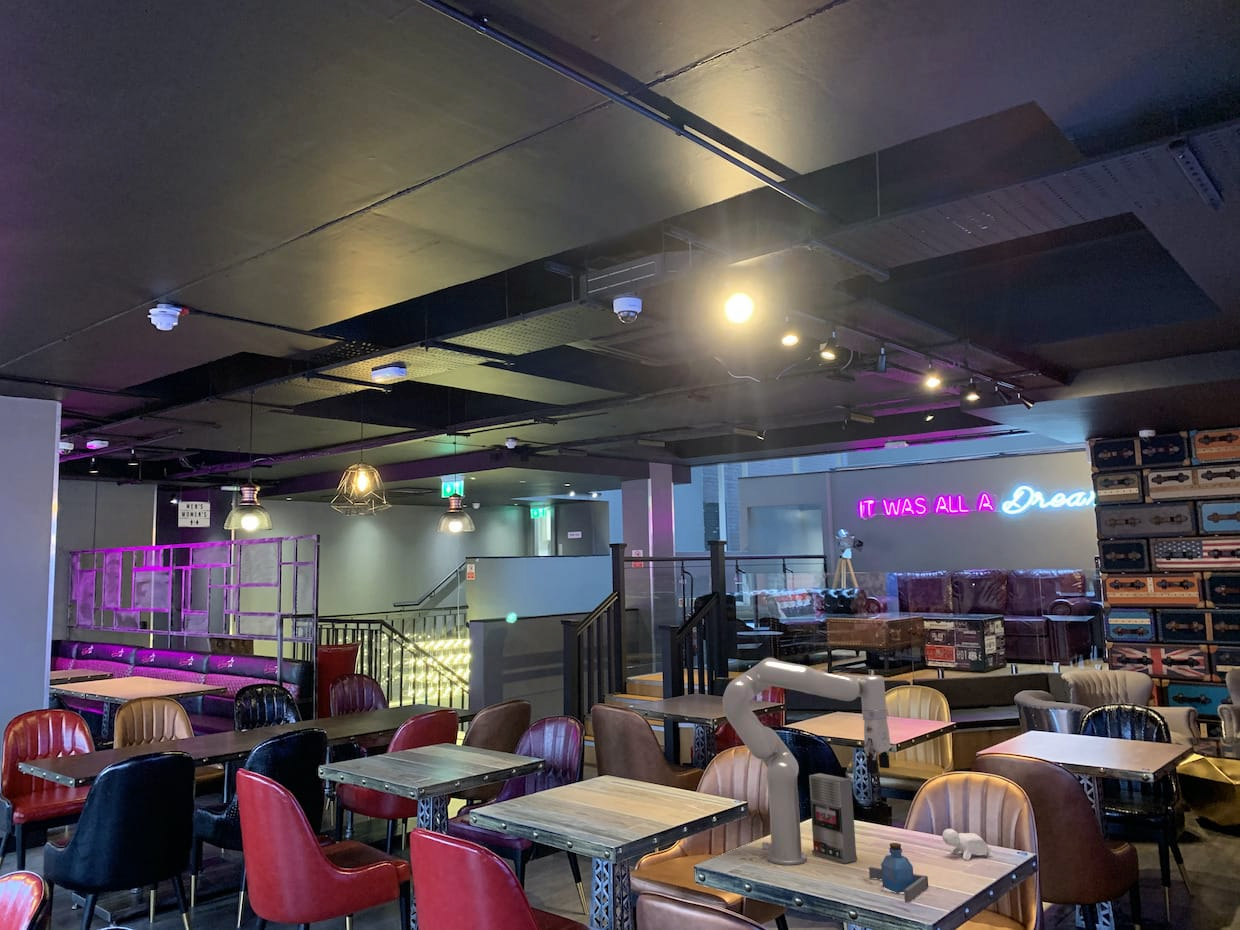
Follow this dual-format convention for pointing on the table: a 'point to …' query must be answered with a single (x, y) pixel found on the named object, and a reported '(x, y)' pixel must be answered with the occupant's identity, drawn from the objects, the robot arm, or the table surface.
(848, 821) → the cassette tape recorder
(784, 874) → the table surface
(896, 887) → the perfume bottle
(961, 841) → the white turtle figurine
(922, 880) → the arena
